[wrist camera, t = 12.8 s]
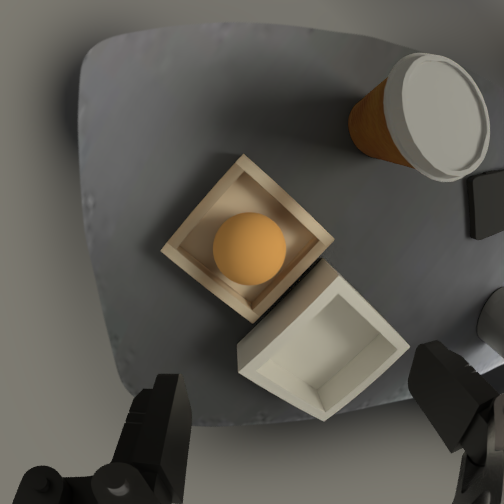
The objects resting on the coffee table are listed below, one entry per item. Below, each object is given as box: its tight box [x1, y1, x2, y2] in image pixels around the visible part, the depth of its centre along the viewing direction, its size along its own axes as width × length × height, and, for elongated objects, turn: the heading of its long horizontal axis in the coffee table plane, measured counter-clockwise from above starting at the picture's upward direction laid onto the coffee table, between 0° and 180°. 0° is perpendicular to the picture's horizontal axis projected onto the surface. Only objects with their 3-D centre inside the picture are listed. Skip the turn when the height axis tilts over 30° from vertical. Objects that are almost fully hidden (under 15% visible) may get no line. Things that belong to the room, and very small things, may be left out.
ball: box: [213, 212, 286, 285], centre depth 25 cm, size 6×6×6 cm
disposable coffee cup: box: [348, 53, 490, 182], centre depth 20 cm, size 10×10×12 cm
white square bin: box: [237, 258, 410, 421], centre depth 30 cm, size 13×13×5 cm
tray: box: [161, 154, 335, 323], centre depth 27 cm, size 11×11×2 cm
